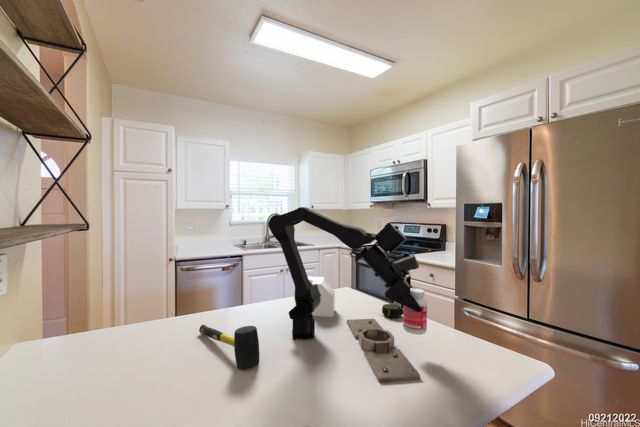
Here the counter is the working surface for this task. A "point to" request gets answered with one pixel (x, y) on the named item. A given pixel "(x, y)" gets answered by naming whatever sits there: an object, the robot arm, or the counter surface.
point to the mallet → (239, 344)
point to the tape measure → (392, 310)
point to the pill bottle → (416, 314)
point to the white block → (324, 298)
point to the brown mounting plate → (382, 352)
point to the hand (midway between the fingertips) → (420, 306)
